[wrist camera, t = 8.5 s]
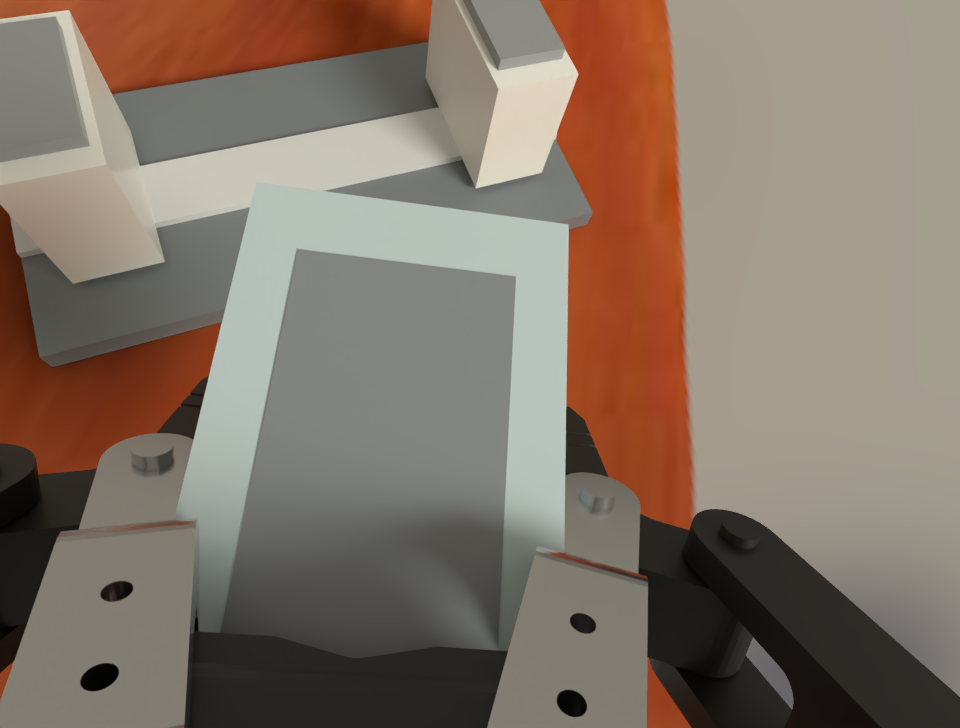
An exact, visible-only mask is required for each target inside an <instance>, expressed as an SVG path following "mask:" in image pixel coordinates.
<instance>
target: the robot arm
mask: <svg viewBox="0 0 960 728" xmlns="http://www.w3.org/2000/svg"><path fill="white" fill-rule="evenodd" d="M208 378H209V377H207V378H205V379H203V380H201V381H200V382H199V384H198V385H197V386H196V387H195V388H194V389H193V391H192V392H191V394H190V396H188V397H187V398H186V399H185V400H184V401H183V402H182V404H181V406H179V407H178V408H177V409H176V411H175V412H174V413H173V414H172V415H171V417H170V418H169V419H168V420H167V421H166V422H165V424H164V425H163V426H162V427H161V428H160V430H159V431H158V432H157V433H154V434H146V435H140V436H136V437H132V438H129V439H126V440H123V441H121V442H119V443H117V444H115V445H113V446H111V447H110V448H109V449H108V450H106V451H105V452H104V454H103V455H102V456H101V458H100V461H99V464H98V467H97V469H92V470H85V471H75V472H64V473H52V474H41V475H38V470H37V463H36V458H35V456H34V454H33V453H32V452H31V451H29V450H27V449H26V448H23V447H20V446H16V445H10V444H0V672H2V671H3V670H4V669H5V668H6V667H7V666H9V665H10V664H11V663H12V662H13V661H14V663H13V666H12V669H11V672H10V675H9V678H8V681H7V683H6V686H5V689H4V692H3V695H2V698H1V701H0V728H647V657H649V659H650V664H651V666H652V669H653V671H654V672H655V674H656V676H657V677H658V679H659V680H660V681H661V683H662V684H663V686H664V687H665V689H666V690H667V692H668V693H669V695H670V696H671V698H672V699H673V701H674V702H675V704H676V705H677V706H678V708H679V709H680V711H681V712H682V714H683V715H684V717H685V718H686V720H687V721H688V723H689V724H690V726H691V727H692V728H960V697H959V696H958V695H957V694H956V693H955V692H953V691H952V690H951V689H950V688H949V687H948V686H947V685H945V684H944V683H943V682H942V681H941V680H940V679H939V678H938V677H936V676H935V675H934V674H933V673H932V672H931V671H930V670H928V669H927V668H926V667H925V666H924V665H923V664H922V663H920V662H919V661H918V660H917V659H916V658H915V657H914V656H912V655H911V654H910V653H909V652H908V651H907V650H906V649H904V647H902V646H901V645H900V644H899V643H898V642H897V641H895V640H894V639H893V638H892V637H891V636H890V635H889V634H888V633H887V632H885V631H884V630H883V629H882V628H881V627H879V626H878V625H877V624H876V623H875V622H874V621H873V620H872V619H870V617H868V616H867V615H866V614H865V613H864V612H863V611H861V610H860V609H859V608H858V607H857V606H856V605H855V604H854V603H853V602H851V601H850V600H849V599H848V598H847V597H846V596H845V595H843V594H842V593H841V592H840V591H839V590H838V589H837V588H835V587H834V586H833V585H832V584H831V583H830V582H829V581H827V580H826V579H825V578H824V577H823V576H822V575H821V574H820V573H818V572H817V571H816V570H815V569H814V568H813V567H812V566H810V565H809V564H808V563H807V562H806V561H805V560H804V559H802V558H801V557H800V556H799V555H798V554H797V553H796V552H795V551H793V550H792V549H791V548H790V547H789V546H788V545H786V544H785V543H784V542H783V541H782V540H781V539H780V538H779V537H778V536H776V535H775V534H774V533H773V532H772V531H770V530H769V529H768V528H767V527H765V526H764V525H762V524H761V523H759V522H757V521H755V520H754V519H751V518H749V517H747V516H744V515H742V514H739V513H735V512H732V511H727V510H719V509H713V510H712V509H710V510H704V511H702V512H699V513H698V514H696V515H695V517H694V518H693V521H692V524H691V527H690V530H686V529H683V528H679V527H676V526H672V525H669V524H665V523H662V522H659V521H656V520H653V519H650V518H648V517H646V516H643V515H642V514H640V503H639V500H638V498H637V497H636V495H635V494H634V493H633V492H632V491H631V490H630V489H629V488H627V487H626V486H625V485H623V484H622V483H620V482H618V481H616V480H614V479H611V478H609V477H608V475H607V473H606V470H605V468H604V465H603V463H602V461H601V458H600V456H599V454H598V451H597V449H596V448H595V444H594V442H593V440H592V437H591V436H590V432H589V430H588V428H587V425H586V423H585V421H584V419H583V418H581V417H580V416H579V415H578V414H577V413H576V412H575V411H573V410H572V409H571V408H570V407H566V459H565V533H564V553H563V552H559V551H556V550H552V549H549V548H545V547H541V546H537V548H536V552H535V555H534V559H533V562H532V566H531V570H530V573H529V577H528V581H527V584H526V588H525V592H524V595H523V599H522V602H521V606H520V610H519V613H518V617H517V621H516V624H515V628H514V632H513V635H512V639H511V642H510V646H509V650H508V651H499V650H483V649H467V648H452V647H431V648H425V649H418V650H411V651H405V652H398V653H392V654H385V655H379V656H372V657H366V658H350V657H345V656H342V655H338V654H335V653H331V652H328V651H325V650H321V649H318V648H314V647H311V646H307V645H304V644H300V643H297V642H294V641H290V640H287V639H283V638H280V637H276V636H263V635H247V634H231V633H215V632H200V631H199V526H198V518H190V519H180V520H174V518H175V514H176V510H177V506H178V502H179V498H180V494H181V489H182V485H183V481H184V477H185V473H186V469H187V465H188V461H189V456H190V452H191V448H192V444H193V440H194V436H195V432H196V428H197V424H198V419H199V415H200V411H201V407H202V403H203V399H204V395H205V391H206V386H207V382H208ZM753 637H754V638H755V639H756V641H757V642H758V643H759V644H760V645H761V646H762V647H763V648H764V650H765V651H766V652H767V653H768V654H769V655H770V656H771V657H772V658H773V659H774V661H775V662H776V663H777V664H778V665H779V666H780V667H781V669H782V670H783V671H784V673H785V674H786V676H787V678H788V680H789V682H790V685H791V688H792V691H793V698H794V704H793V709H792V710H791V708H790V707H789V706H788V705H787V703H786V702H785V701H784V700H783V699H782V698H781V696H780V695H779V694H778V693H777V692H776V691H775V689H774V688H773V687H772V686H771V685H770V684H769V682H768V681H767V680H766V679H765V678H764V677H763V675H762V674H761V673H760V672H759V671H758V669H757V668H756V667H755V666H754V665H753V664H752V662H751V661H750V660H749V659H748V658H747V657H746V653H747V651H748V648H749V646H750V643H751V641H752V639H753Z"/></svg>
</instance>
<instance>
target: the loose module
mask: <svg viewBox="0 0 960 728" xmlns="http://www.w3.org/2000/svg"><path fill="white" fill-rule="evenodd" d="M568 237H569V224H562V223H555V222H547V221H540V220H533V219H525V218H518V217H511V216H503V215H496V214H488V213H481V212H474V211H466V210H459V209H452V208H444V207H437V206H430V205H422V204H415V203H407V202H400V201H393V200H385V199H378V198H371V197H363V196H356V195H348V194H341V193H334V192H326V191H319V190H312V189H304V188H297V187H290V186H282V185H275V184H267V183H260V182H256V185H255V189H254V193H253V197H252V201H251V205H250V209H249V213H248V218H247V222H246V226H245V230H244V234H243V238H242V242H241V246H240V251H239V255H238V259H237V263H236V267H235V271H234V275H233V279H232V283H231V288H230V292H229V296H228V300H227V304H226V308H225V312H224V316H223V321H222V325H221V329H220V333H219V337H218V341H217V345H216V349H215V353H214V358H213V362H212V366H211V370H210V374H209V378H208V382H207V386H206V391H205V395H204V399H203V403H202V407H201V411H200V415H199V419H198V424H197V428H196V432H195V436H194V440H193V444H192V448H191V452H190V456H189V461H188V465H187V469H186V473H185V477H184V481H183V485H182V489H181V494H180V498H179V502H178V506H177V510H176V514H175V518H174V520H180V519H190V518H198V526H199V631H200V632H215V633H231V634H247V635H263V636H276V637H280V638H283V639H287V640H290V641H294V642H297V643H300V644H304V645H307V646H311V647H314V648H318V649H321V650H325V651H328V652H331V653H335V654H338V655H342V656H345V657H350V658H366V657H372V656H379V655H385V654H392V653H398V652H405V651H411V650H418V649H425V648H431V647H452V648H467V649H483V650H499V651H508V650H509V646H510V642H511V639H512V635H513V632H514V628H515V624H516V621H517V617H518V613H519V610H520V606H521V602H522V599H523V595H524V592H525V588H526V584H527V581H528V577H529V573H530V570H531V566H532V562H533V559H534V555H535V552H536V548H537V546H541V547H545V548H549V549H552V550H556V551H559V552H563V553H564V533H565V459H566V385H567V311H568Z"/></svg>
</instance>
